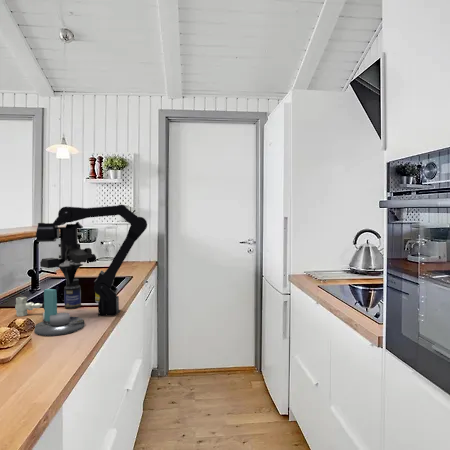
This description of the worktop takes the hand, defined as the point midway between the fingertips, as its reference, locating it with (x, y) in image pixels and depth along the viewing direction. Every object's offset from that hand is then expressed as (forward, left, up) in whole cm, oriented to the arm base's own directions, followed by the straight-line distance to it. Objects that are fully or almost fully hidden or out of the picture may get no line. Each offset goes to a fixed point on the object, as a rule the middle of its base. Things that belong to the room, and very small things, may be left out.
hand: (70, 283), depth 131 cm
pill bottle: (+5, -13, -12) cm, 19 cm away
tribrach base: (-2, +13, -12) cm, 18 cm away
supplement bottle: (-4, -21, -12) cm, 25 cm away
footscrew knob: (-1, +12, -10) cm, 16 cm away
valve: (+16, -3, -12) cm, 20 cm away
